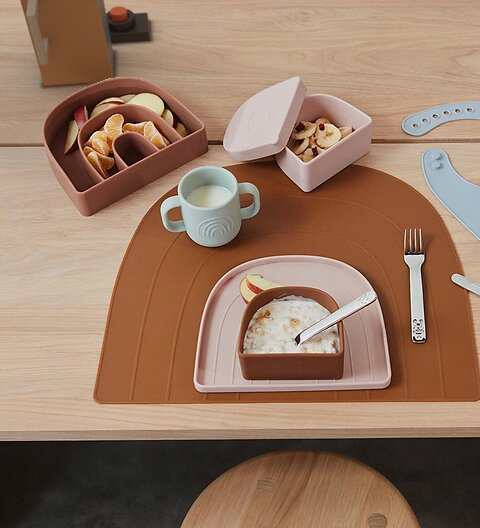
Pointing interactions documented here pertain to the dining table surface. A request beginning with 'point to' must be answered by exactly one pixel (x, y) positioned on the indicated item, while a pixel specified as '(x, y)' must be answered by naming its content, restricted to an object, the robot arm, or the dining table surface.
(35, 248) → the dining table surface
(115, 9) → the button
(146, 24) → the control block
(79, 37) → the cupboard door
